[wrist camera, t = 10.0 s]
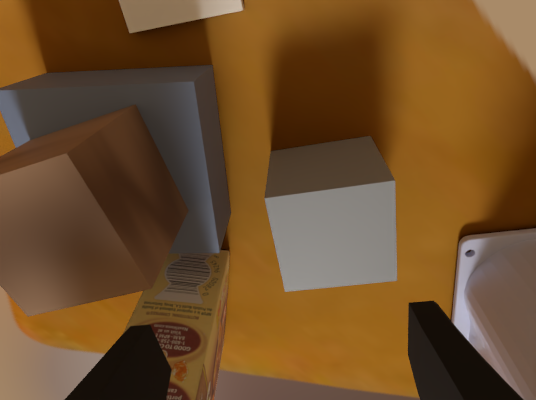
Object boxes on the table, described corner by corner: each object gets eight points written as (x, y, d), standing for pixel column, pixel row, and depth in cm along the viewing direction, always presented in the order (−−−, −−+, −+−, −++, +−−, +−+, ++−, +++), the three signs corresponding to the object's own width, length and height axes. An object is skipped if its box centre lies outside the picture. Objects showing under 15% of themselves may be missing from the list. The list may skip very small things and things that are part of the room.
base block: (231, 210, 21) (219, 253, 17) (98, 212, 22) (60, 254, 18) (213, 63, 17) (193, 81, 13) (51, 71, 18) (-9, 90, 14)
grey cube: (374, 219, 20) (396, 280, 16) (286, 230, 21) (285, 291, 17) (370, 135, 18) (395, 180, 14) (270, 150, 19) (264, 198, 14)
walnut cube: (188, 210, 16) (151, 288, 12) (93, 235, 17) (27, 316, 13) (135, 104, 14) (66, 153, 10) (29, 140, 15) (-77, 199, 11)
